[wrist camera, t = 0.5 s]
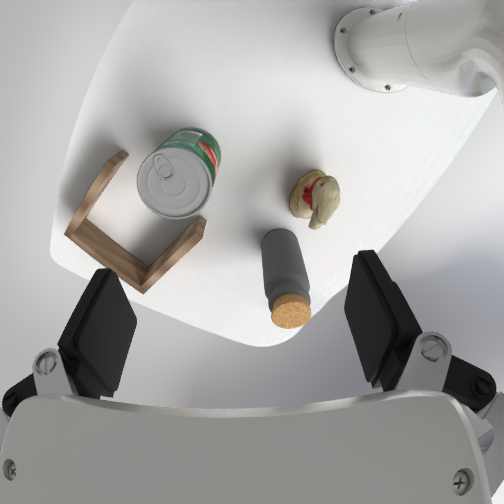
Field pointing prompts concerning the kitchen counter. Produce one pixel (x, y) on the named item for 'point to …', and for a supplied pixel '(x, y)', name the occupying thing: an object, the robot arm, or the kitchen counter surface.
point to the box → (112, 252)
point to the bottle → (285, 279)
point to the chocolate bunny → (315, 198)
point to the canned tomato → (180, 174)
